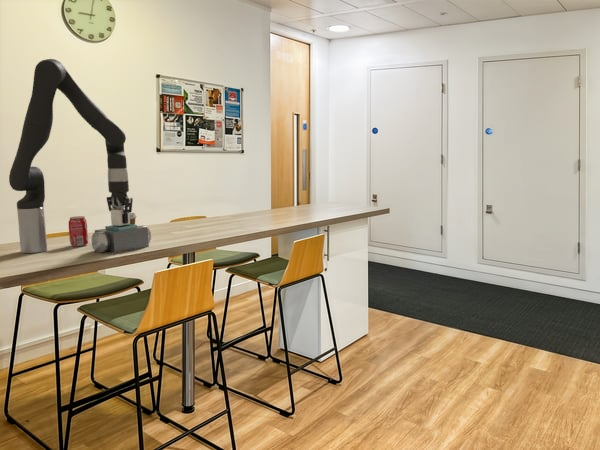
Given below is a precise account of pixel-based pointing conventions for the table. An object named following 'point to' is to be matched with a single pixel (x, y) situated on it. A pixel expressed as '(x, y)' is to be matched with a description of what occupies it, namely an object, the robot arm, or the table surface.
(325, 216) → the table surface
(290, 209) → the table surface
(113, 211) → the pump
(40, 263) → the table surface
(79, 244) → the soda can
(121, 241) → the motor
